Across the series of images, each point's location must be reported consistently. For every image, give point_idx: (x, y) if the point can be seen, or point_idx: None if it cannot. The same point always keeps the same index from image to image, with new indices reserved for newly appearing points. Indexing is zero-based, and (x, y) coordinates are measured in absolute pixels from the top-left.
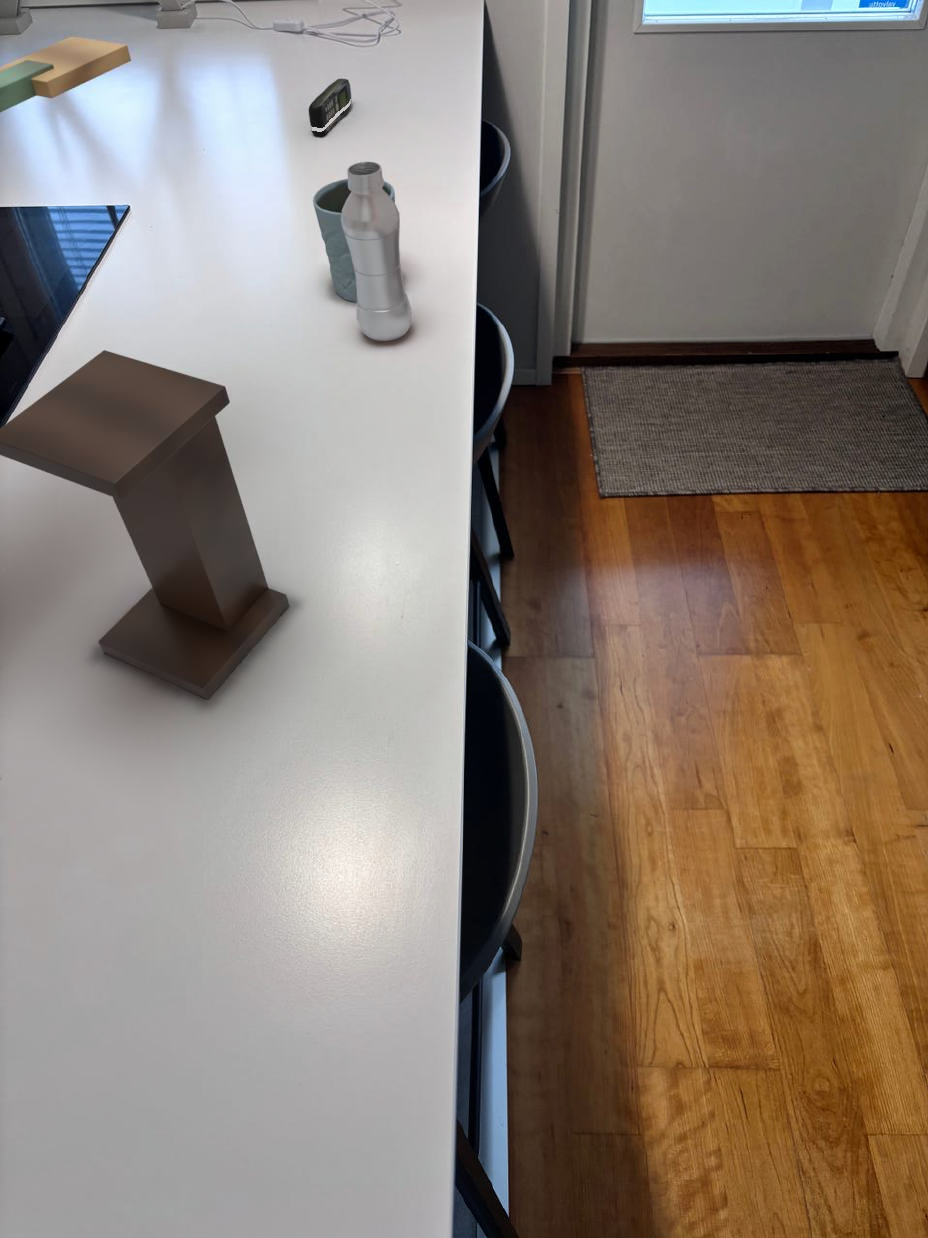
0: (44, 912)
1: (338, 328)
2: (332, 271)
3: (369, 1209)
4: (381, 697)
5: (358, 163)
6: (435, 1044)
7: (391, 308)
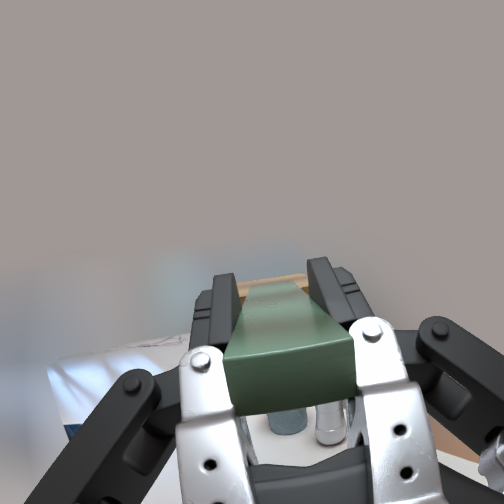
0: None
1: (302, 449)
2: (276, 424)
3: None
4: None
5: None
6: None
7: (343, 424)
